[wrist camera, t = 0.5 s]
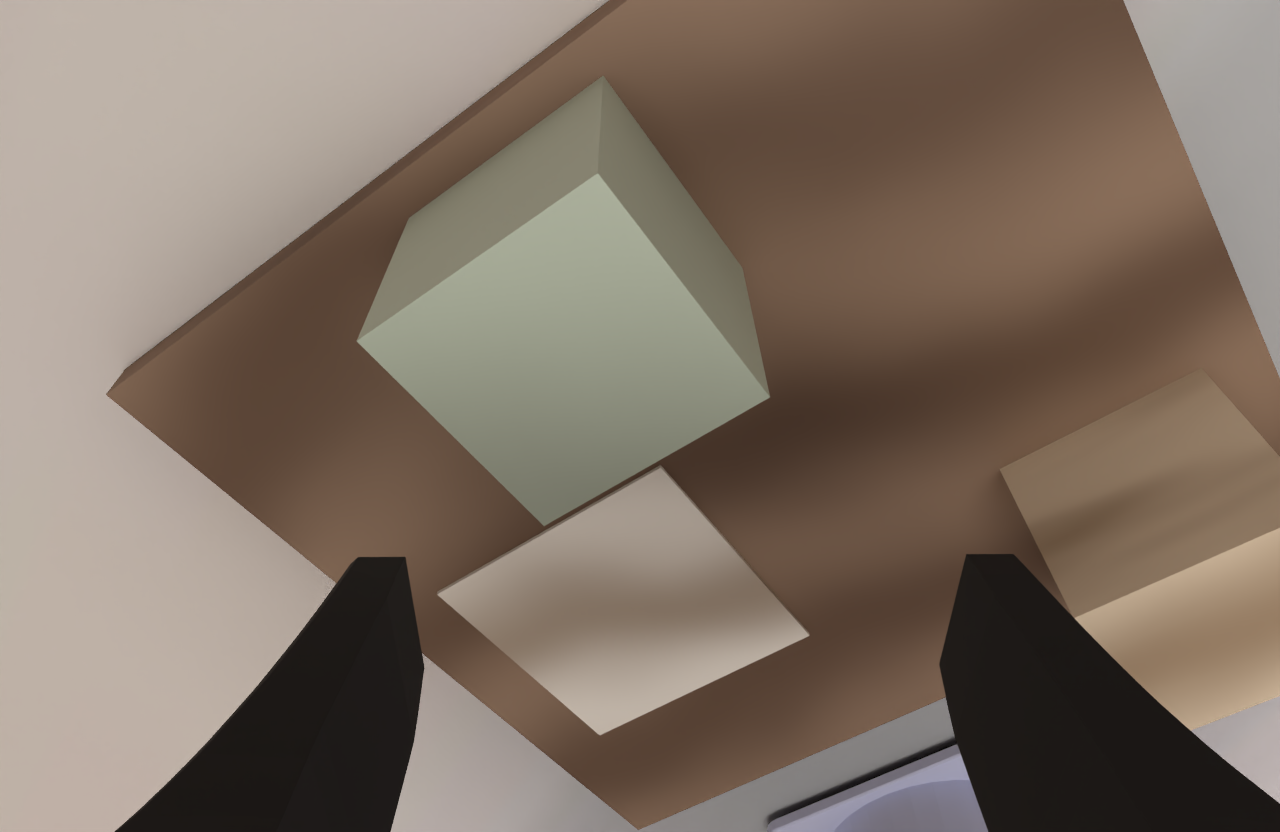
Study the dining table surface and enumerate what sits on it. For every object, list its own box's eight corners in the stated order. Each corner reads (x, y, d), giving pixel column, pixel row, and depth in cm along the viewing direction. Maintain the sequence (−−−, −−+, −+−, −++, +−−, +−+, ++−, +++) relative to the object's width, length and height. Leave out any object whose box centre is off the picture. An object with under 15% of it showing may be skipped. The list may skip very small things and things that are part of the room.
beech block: (1264, 503, 23) (1386, 654, 19) (1076, 588, 25) (1156, 743, 21) (1201, 368, 21) (1324, 508, 17) (999, 468, 22) (1073, 618, 19)
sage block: (742, 268, 20) (769, 397, 16) (558, 382, 21) (544, 526, 17) (603, 75, 17) (597, 173, 14) (408, 218, 19) (356, 341, 15)
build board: (1316, 498, 24) (1343, 529, 23) (638, 800, 31) (638, 832, 30) (984, -285, 15) (1007, -285, 15) (125, 368, 22) (104, 397, 21)
